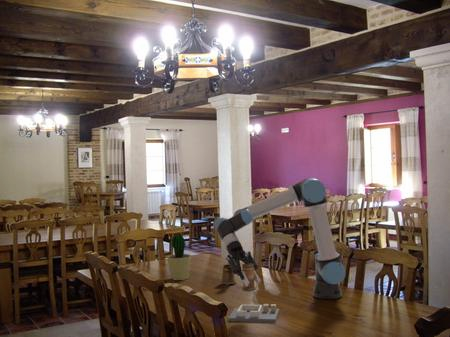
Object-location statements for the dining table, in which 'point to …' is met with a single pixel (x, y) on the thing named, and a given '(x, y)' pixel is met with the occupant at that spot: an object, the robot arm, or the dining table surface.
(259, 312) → the board
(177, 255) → the potted cactus
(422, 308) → the dining table surface
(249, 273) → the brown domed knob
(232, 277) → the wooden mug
